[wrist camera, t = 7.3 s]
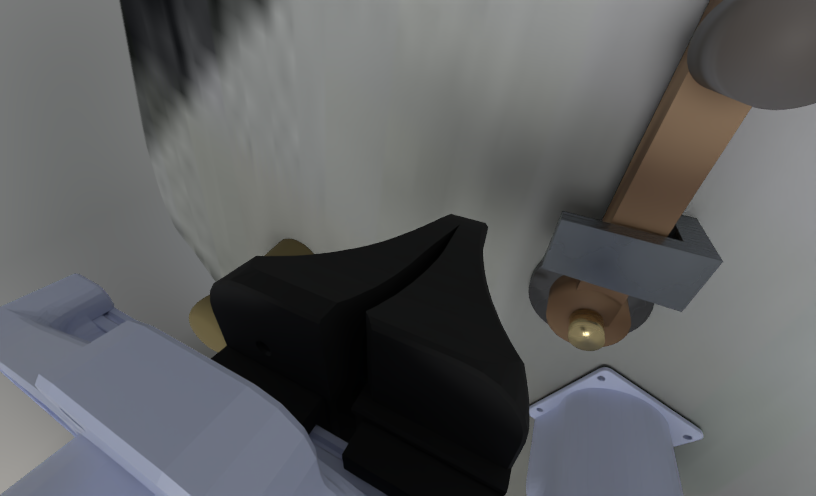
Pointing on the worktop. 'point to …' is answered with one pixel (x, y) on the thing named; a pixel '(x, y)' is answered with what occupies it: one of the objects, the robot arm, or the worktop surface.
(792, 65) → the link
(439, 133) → the worktop surface
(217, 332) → the cork
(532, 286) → the pintle base
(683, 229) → the keeper
